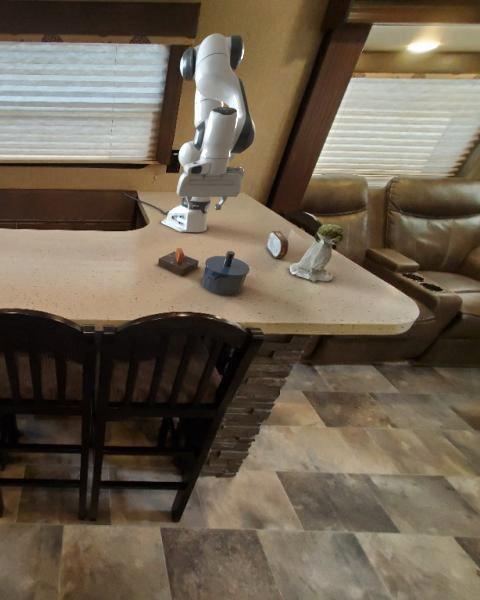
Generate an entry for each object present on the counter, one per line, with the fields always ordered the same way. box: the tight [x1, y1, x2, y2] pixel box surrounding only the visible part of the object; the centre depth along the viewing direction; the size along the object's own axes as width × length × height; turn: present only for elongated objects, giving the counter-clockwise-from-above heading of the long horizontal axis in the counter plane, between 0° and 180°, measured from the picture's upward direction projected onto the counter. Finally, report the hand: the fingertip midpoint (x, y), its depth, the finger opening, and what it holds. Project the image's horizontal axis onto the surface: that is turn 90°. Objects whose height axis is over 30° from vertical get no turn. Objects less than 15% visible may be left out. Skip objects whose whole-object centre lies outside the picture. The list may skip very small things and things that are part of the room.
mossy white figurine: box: [289, 223, 345, 283], centre depth 102 cm, size 12×13×18 cm
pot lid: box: [204, 250, 251, 277], centre depth 96 cm, size 14×14×6 cm
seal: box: [175, 247, 185, 263], centre depth 110 cm, size 6×2×4 cm, turn 174°
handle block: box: [157, 250, 200, 277], centre depth 112 cm, size 11×10×3 cm
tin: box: [266, 230, 289, 259], centre depth 119 cm, size 15×3×8 cm, turn 168°
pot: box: [201, 266, 248, 296], centre depth 99 cm, size 13×18×8 cm
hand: (203, 209), depth 103 cm, fingers open, 8 cm apart
